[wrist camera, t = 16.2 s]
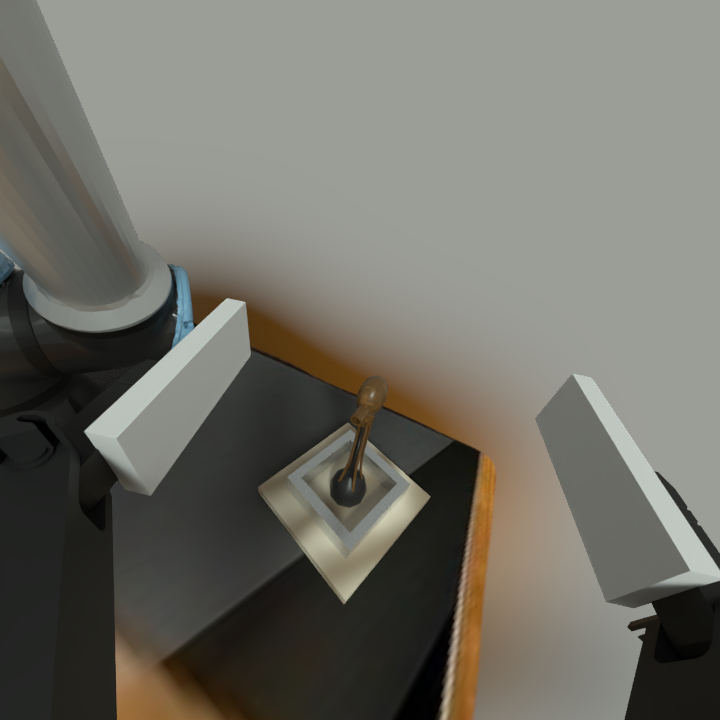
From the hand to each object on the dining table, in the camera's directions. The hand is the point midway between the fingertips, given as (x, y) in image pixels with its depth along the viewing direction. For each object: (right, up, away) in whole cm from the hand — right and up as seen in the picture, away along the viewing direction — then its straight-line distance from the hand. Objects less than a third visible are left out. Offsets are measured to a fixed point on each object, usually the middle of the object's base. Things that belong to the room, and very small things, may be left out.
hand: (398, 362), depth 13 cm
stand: (-4, -18, +28) cm, 33 cm away
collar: (-3, -17, +27) cm, 32 cm away
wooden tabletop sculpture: (-4, -17, +27) cm, 32 cm away
